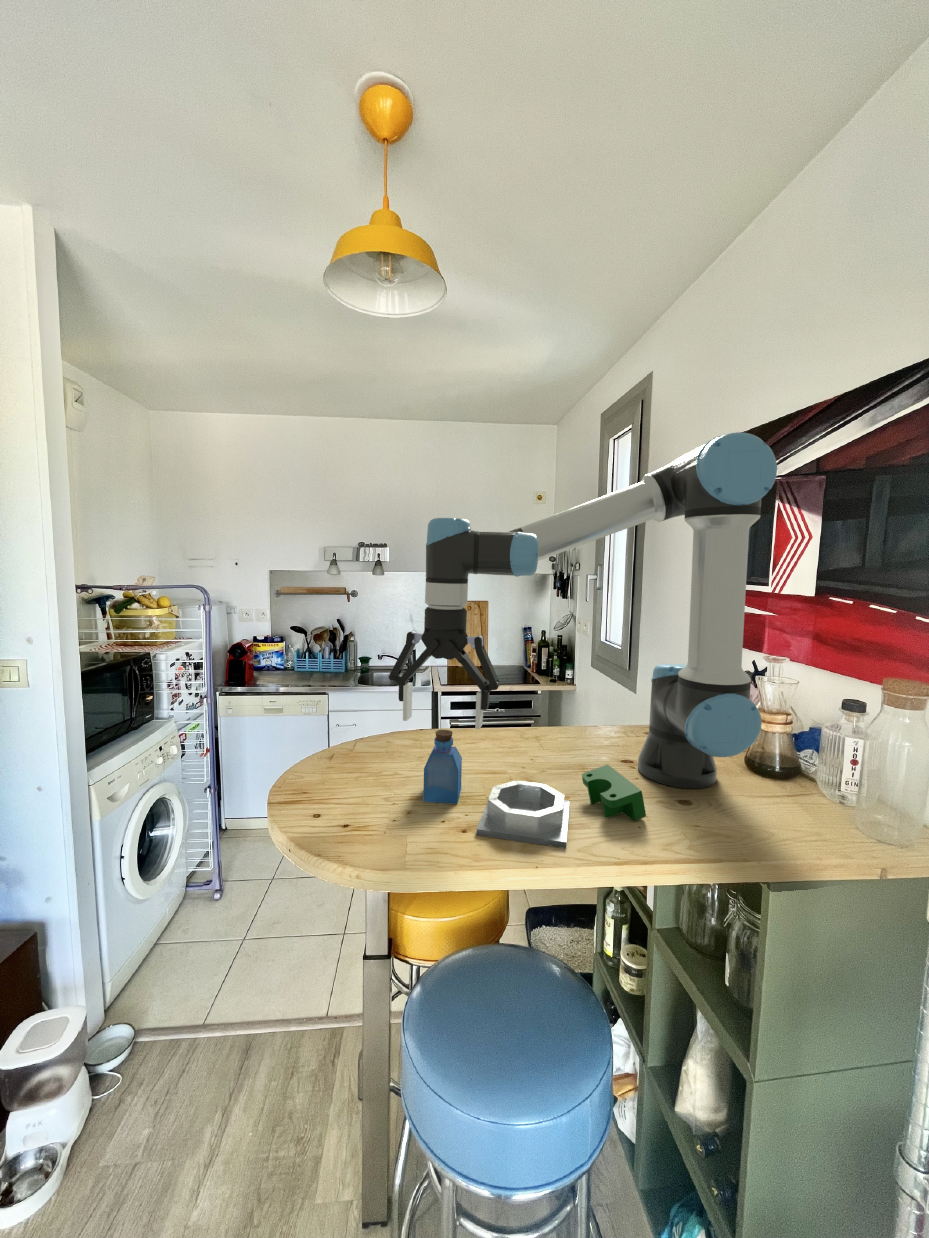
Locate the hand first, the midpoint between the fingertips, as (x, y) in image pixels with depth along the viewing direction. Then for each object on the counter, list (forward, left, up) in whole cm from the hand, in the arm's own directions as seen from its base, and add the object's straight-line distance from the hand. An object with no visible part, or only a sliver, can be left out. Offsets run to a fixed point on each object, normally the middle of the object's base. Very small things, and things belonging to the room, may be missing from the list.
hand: (442, 722), depth 94 cm
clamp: (-30, -3, -14) cm, 34 cm away
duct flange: (-16, +5, -14) cm, 22 cm away
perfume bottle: (0, 0, -14) cm, 14 cm away
